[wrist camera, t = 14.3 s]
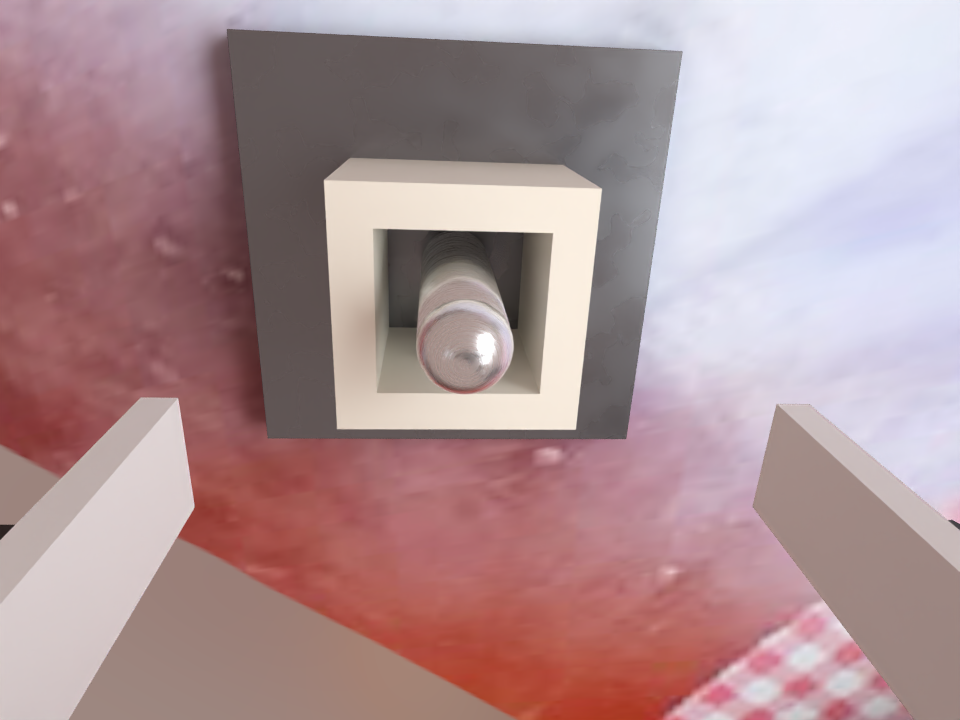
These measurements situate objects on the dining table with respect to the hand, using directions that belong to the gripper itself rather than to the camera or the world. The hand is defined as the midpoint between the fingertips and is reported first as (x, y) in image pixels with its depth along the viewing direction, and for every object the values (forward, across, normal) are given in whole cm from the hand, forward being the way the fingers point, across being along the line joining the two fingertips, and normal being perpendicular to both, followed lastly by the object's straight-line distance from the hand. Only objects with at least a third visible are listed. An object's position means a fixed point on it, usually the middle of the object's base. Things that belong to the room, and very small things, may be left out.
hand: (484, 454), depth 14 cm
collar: (+16, 0, 0) cm, 16 cm away
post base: (+18, 0, 0) cm, 18 cm away
